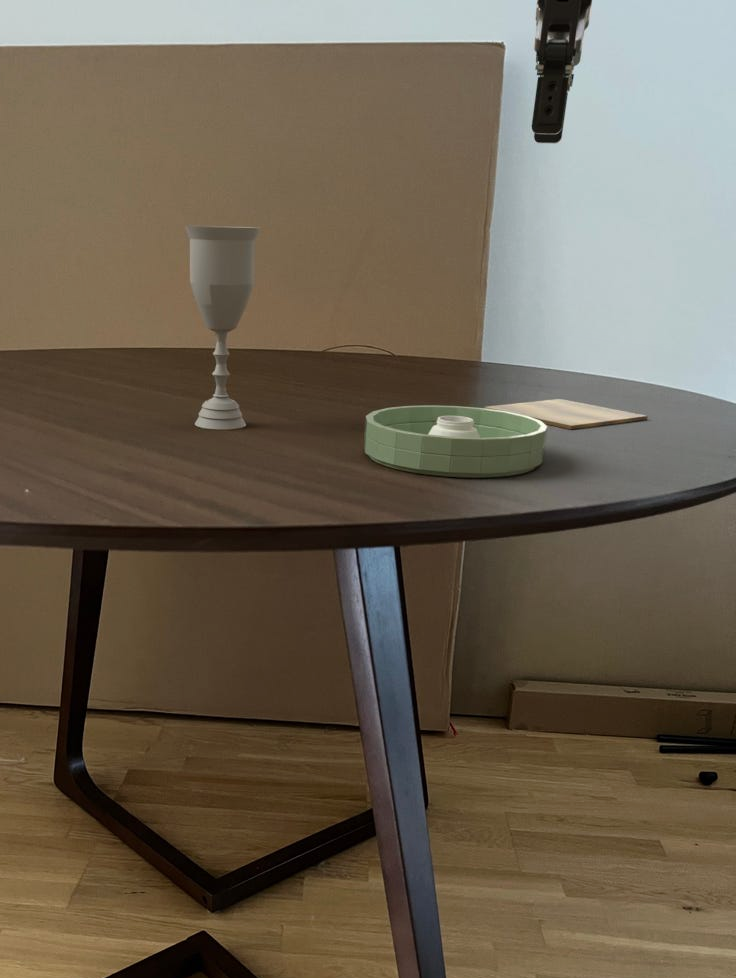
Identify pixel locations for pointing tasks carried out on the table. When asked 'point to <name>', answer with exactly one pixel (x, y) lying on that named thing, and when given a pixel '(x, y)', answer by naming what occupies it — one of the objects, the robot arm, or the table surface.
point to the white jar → (454, 427)
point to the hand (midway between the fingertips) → (546, 138)
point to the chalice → (221, 303)
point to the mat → (569, 413)
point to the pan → (455, 442)
